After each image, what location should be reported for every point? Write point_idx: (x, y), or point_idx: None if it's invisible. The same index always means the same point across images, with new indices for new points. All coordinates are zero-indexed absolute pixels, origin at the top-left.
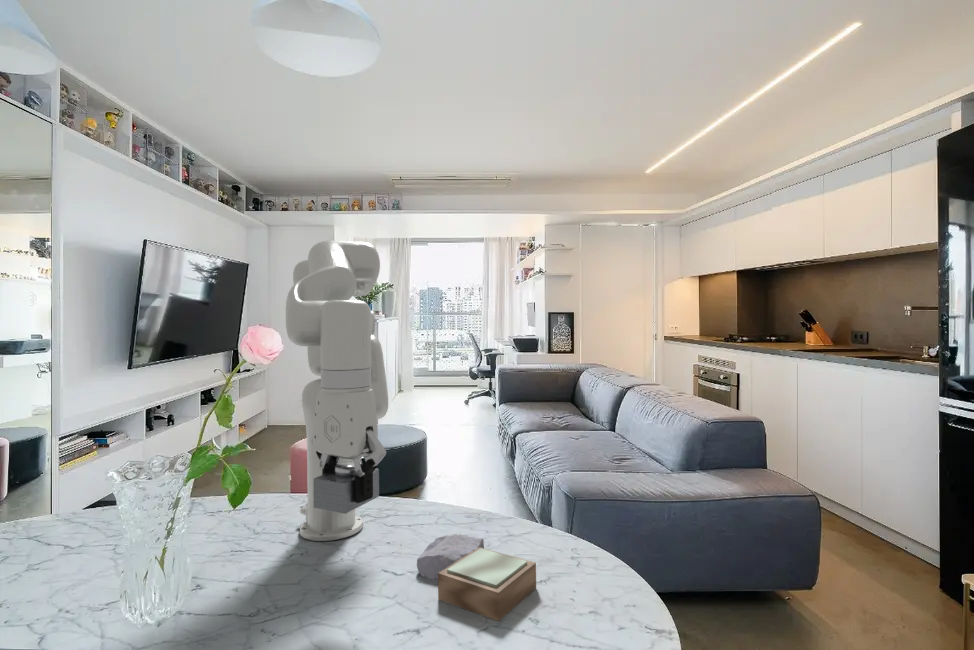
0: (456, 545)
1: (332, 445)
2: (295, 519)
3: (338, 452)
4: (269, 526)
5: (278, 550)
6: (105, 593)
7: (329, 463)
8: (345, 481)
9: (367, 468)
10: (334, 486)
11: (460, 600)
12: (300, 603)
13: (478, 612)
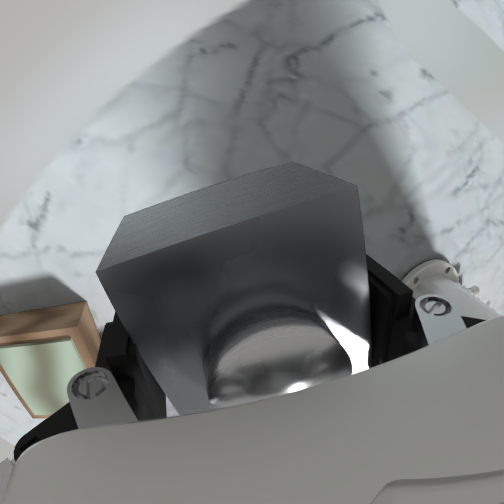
0: (170, 402)
1: (367, 463)
2: (476, 280)
3: (231, 438)
4: (488, 244)
5: (436, 211)
6: (476, 19)
7: (408, 339)
8: (133, 293)
9: (56, 423)
10: (180, 231)
11: (44, 313)
12: (258, 129)
13: (21, 313)
